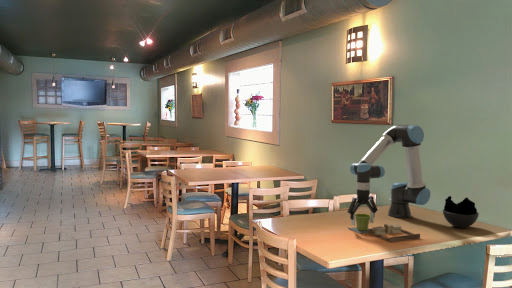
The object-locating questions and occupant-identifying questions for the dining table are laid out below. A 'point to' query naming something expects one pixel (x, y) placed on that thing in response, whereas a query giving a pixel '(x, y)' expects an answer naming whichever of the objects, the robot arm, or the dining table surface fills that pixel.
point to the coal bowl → (460, 213)
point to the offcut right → (396, 229)
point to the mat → (358, 230)
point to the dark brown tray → (397, 238)
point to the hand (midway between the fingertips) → (362, 223)
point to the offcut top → (388, 228)
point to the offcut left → (379, 230)
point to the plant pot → (362, 221)
